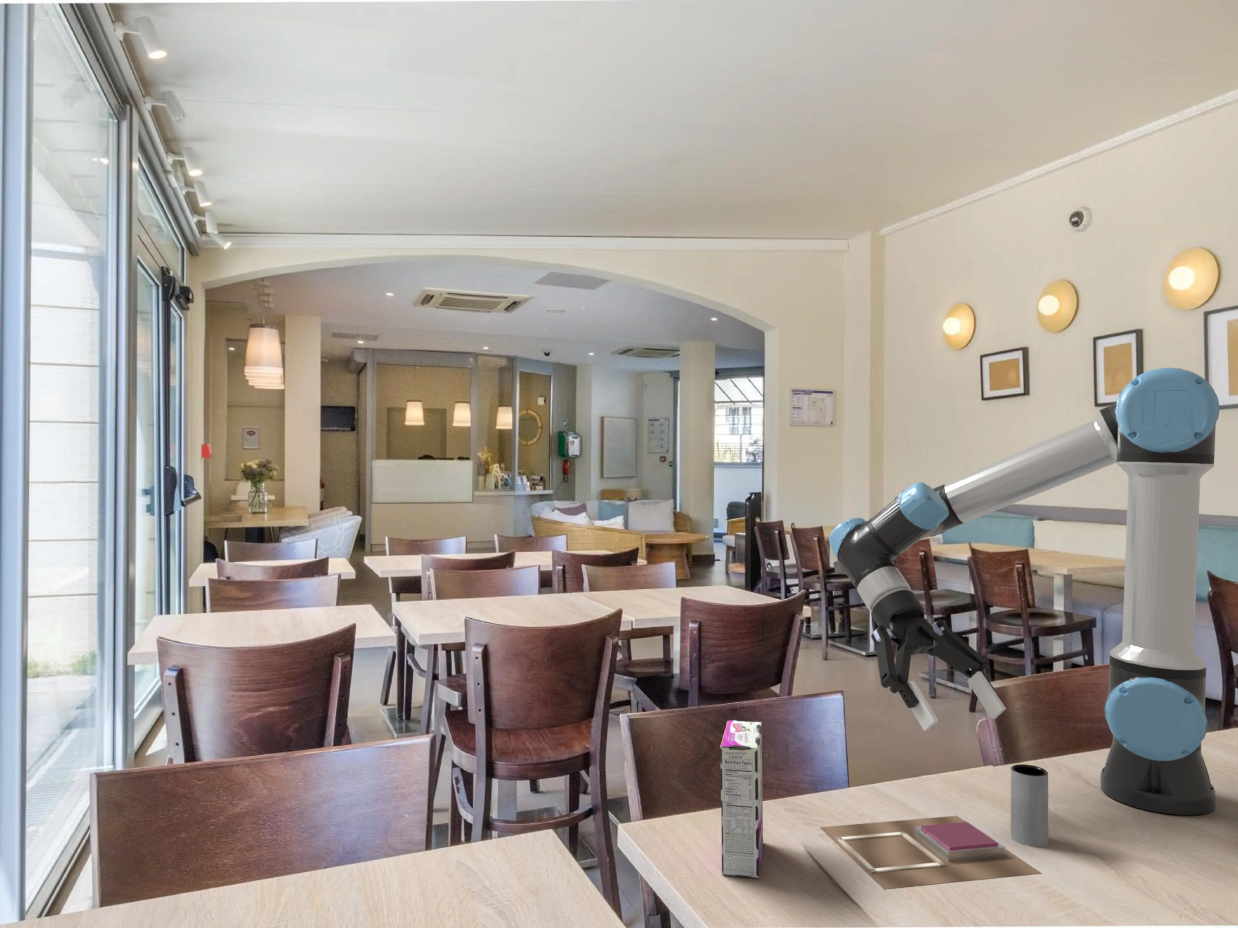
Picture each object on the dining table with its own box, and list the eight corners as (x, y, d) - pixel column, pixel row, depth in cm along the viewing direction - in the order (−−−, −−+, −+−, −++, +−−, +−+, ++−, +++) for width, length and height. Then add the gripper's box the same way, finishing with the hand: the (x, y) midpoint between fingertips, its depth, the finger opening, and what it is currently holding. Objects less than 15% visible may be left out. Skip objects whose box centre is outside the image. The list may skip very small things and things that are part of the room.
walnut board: (956, 822, 123) (956, 814, 123) (1041, 881, 106) (1041, 871, 106) (819, 834, 119) (819, 825, 119) (884, 897, 102) (883, 886, 102)
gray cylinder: (1052, 855, 113) (1052, 776, 113) (1015, 852, 114) (1015, 774, 114) (1042, 840, 117) (1042, 765, 117) (1007, 838, 118) (1007, 762, 118)
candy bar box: (726, 838, 118) (726, 718, 118) (763, 842, 117) (763, 721, 117) (719, 876, 107) (719, 744, 107) (759, 880, 106) (759, 746, 106)
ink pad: (968, 830, 118) (968, 819, 118) (1004, 856, 110) (1004, 844, 110) (914, 835, 117) (914, 824, 117) (948, 861, 109) (948, 849, 109)
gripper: (935, 610, 146) (1010, 722, 133) (818, 621, 135) (887, 744, 122) (960, 583, 142) (1040, 695, 128) (841, 592, 131) (915, 716, 117)
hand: (966, 719), depth 125 cm, fingers open, 13 cm apart
